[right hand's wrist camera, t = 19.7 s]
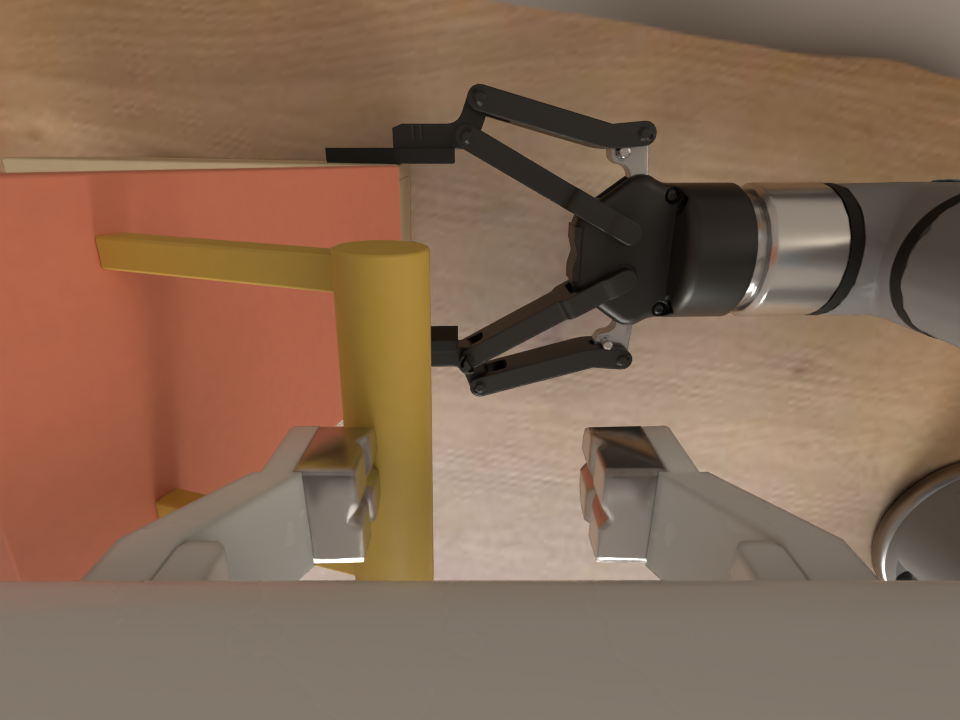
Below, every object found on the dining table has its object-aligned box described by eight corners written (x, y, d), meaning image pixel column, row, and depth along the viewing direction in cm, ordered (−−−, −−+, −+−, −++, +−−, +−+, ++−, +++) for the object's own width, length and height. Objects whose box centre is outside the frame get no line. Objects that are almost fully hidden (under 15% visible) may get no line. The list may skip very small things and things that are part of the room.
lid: (8, 647, 12) (355, 778, 9) (-174, 175, 8) (302, 199, 6) (385, 366, 28) (547, 389, 25) (376, 165, 24) (563, 170, 22)
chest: (166, 304, 38) (55, 361, 27) (138, 156, 34) (-1, 157, 24) (412, 306, 38) (396, 363, 28) (409, 162, 35) (389, 165, 25)
